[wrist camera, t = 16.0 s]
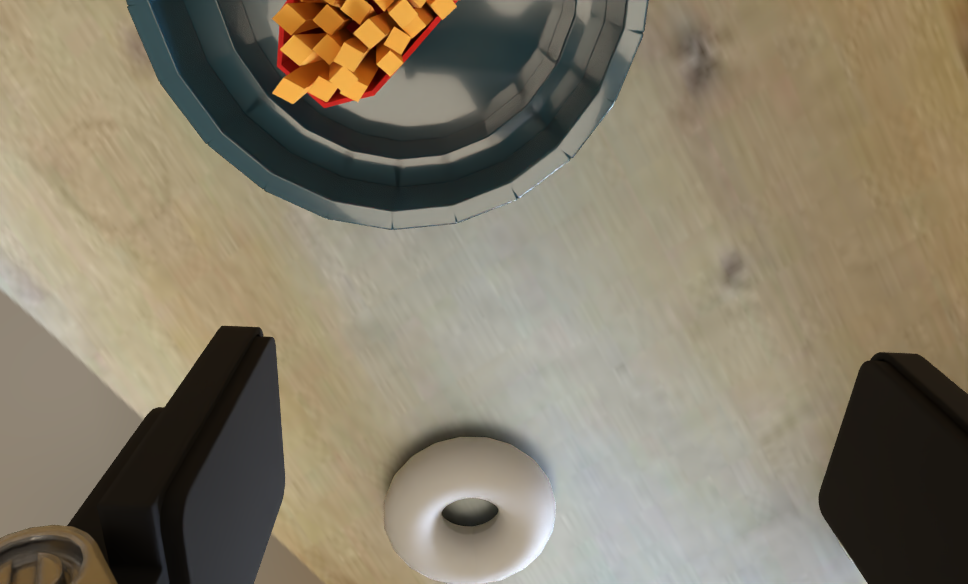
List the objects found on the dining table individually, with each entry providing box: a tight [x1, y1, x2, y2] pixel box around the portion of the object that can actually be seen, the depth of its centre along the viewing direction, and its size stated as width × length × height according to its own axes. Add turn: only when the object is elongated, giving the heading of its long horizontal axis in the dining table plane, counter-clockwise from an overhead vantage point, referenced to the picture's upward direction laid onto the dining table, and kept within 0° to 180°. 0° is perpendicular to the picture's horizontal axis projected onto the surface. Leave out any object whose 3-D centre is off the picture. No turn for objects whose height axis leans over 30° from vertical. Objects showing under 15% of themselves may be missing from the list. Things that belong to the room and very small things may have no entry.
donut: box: [384, 437, 556, 584], centre depth 40 cm, size 10×3×10 cm
